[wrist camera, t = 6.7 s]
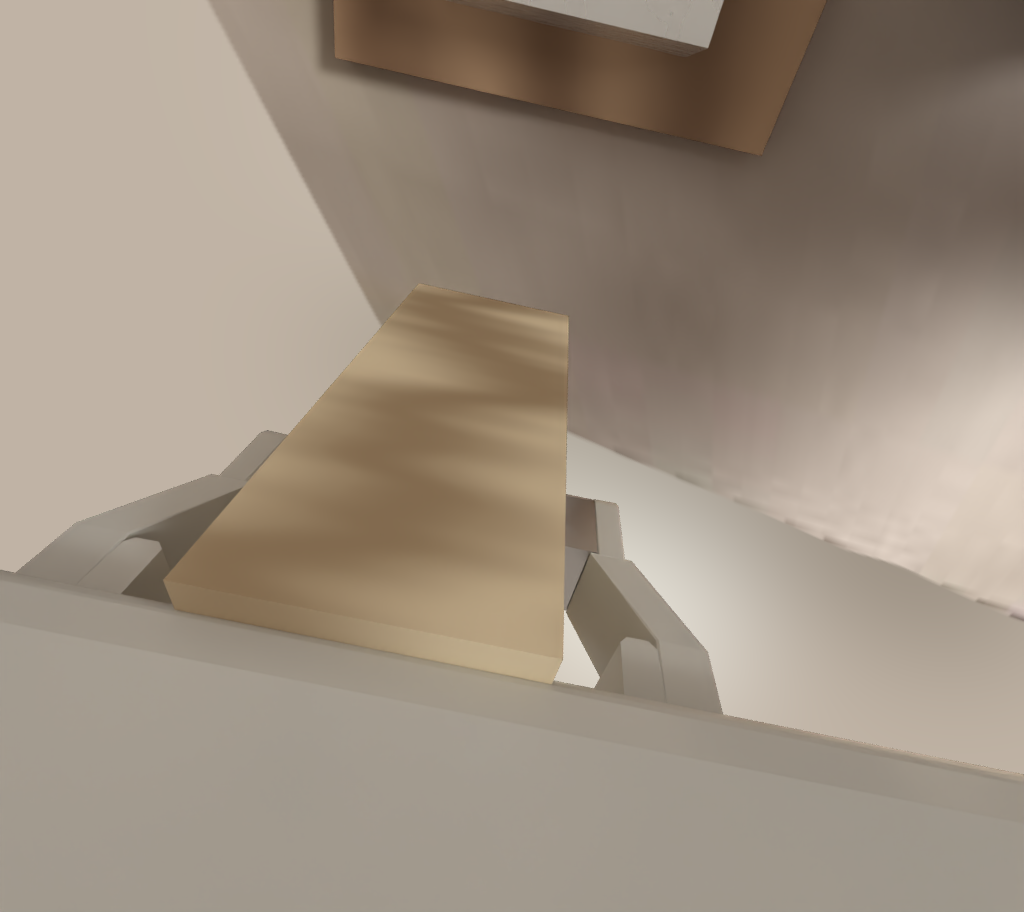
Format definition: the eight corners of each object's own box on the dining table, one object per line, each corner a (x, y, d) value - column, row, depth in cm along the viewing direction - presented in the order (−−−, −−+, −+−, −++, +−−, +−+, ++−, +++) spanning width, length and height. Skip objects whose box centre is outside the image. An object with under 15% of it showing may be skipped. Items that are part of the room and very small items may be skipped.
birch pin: (568, 315, 14) (563, 659, 5) (536, 438, 17) (497, 804, 8) (419, 283, 14) (163, 579, 5) (410, 412, 17) (229, 753, 8)
